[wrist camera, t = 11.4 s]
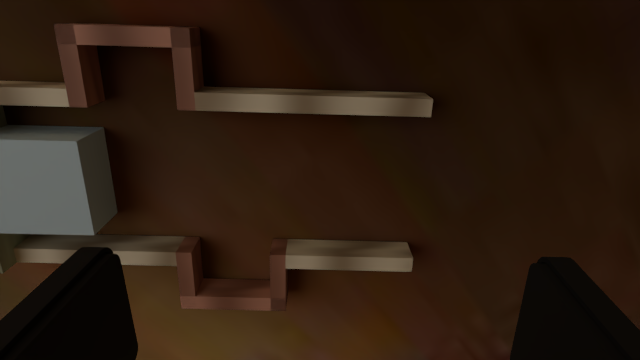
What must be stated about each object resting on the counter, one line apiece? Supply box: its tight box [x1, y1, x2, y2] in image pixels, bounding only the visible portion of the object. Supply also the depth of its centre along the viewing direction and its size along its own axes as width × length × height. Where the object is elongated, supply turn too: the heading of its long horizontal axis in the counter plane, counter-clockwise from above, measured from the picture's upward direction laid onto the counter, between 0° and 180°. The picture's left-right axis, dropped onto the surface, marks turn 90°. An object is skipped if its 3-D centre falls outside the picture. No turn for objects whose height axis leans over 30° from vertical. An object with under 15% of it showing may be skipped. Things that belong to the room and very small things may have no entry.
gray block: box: [0, 125, 118, 235], centre depth 31 cm, size 7×7×4 cm
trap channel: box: [0, 23, 433, 311], centre depth 31 cm, size 32×21×4 cm
